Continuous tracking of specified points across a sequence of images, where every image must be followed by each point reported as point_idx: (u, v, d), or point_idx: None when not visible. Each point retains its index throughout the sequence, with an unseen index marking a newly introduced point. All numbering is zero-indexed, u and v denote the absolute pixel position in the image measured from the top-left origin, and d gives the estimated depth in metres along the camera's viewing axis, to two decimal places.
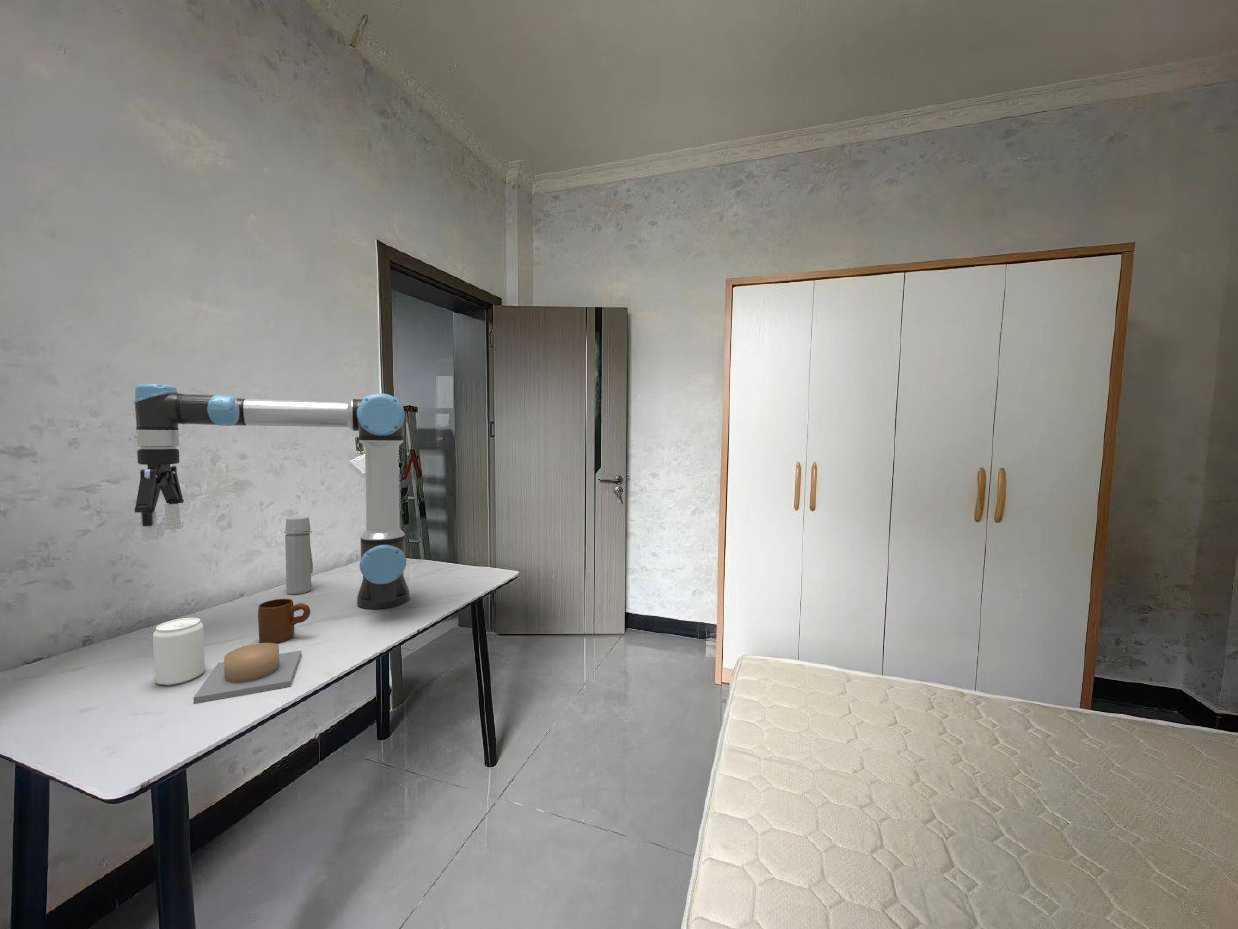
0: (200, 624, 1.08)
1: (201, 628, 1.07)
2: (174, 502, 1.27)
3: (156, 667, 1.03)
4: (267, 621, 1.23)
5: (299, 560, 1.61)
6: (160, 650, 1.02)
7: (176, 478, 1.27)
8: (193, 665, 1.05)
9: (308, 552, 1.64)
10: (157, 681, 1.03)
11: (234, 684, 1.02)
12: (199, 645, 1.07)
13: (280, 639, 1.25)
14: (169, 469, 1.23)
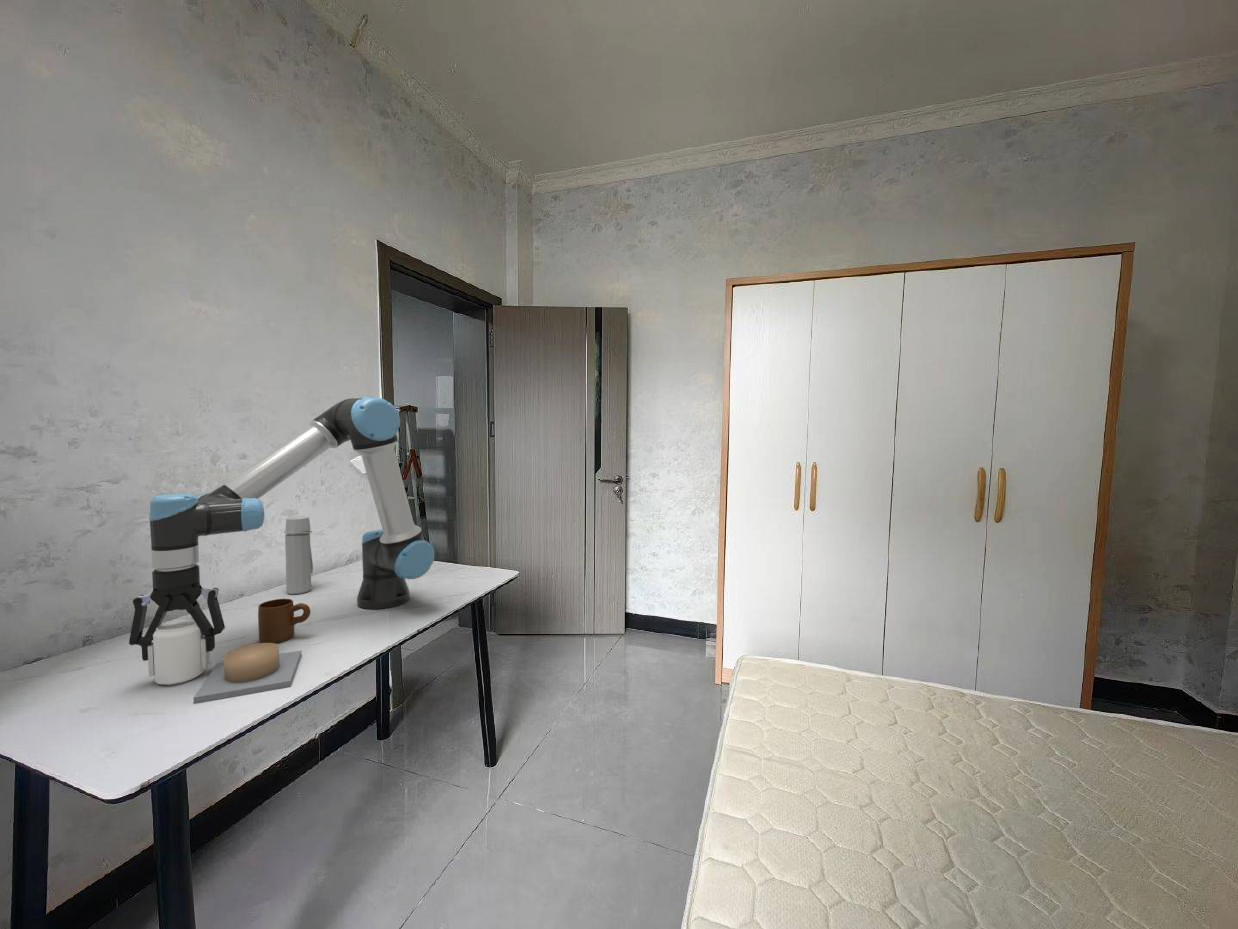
0: None
1: None
2: None
3: (156, 667, 1.03)
4: (267, 621, 1.23)
5: (299, 560, 1.61)
6: (160, 650, 1.02)
7: (210, 605, 1.07)
8: (193, 665, 1.05)
9: (308, 552, 1.64)
10: (157, 681, 1.03)
11: (234, 684, 1.02)
12: (199, 645, 1.07)
13: (280, 639, 1.25)
14: (191, 591, 1.06)
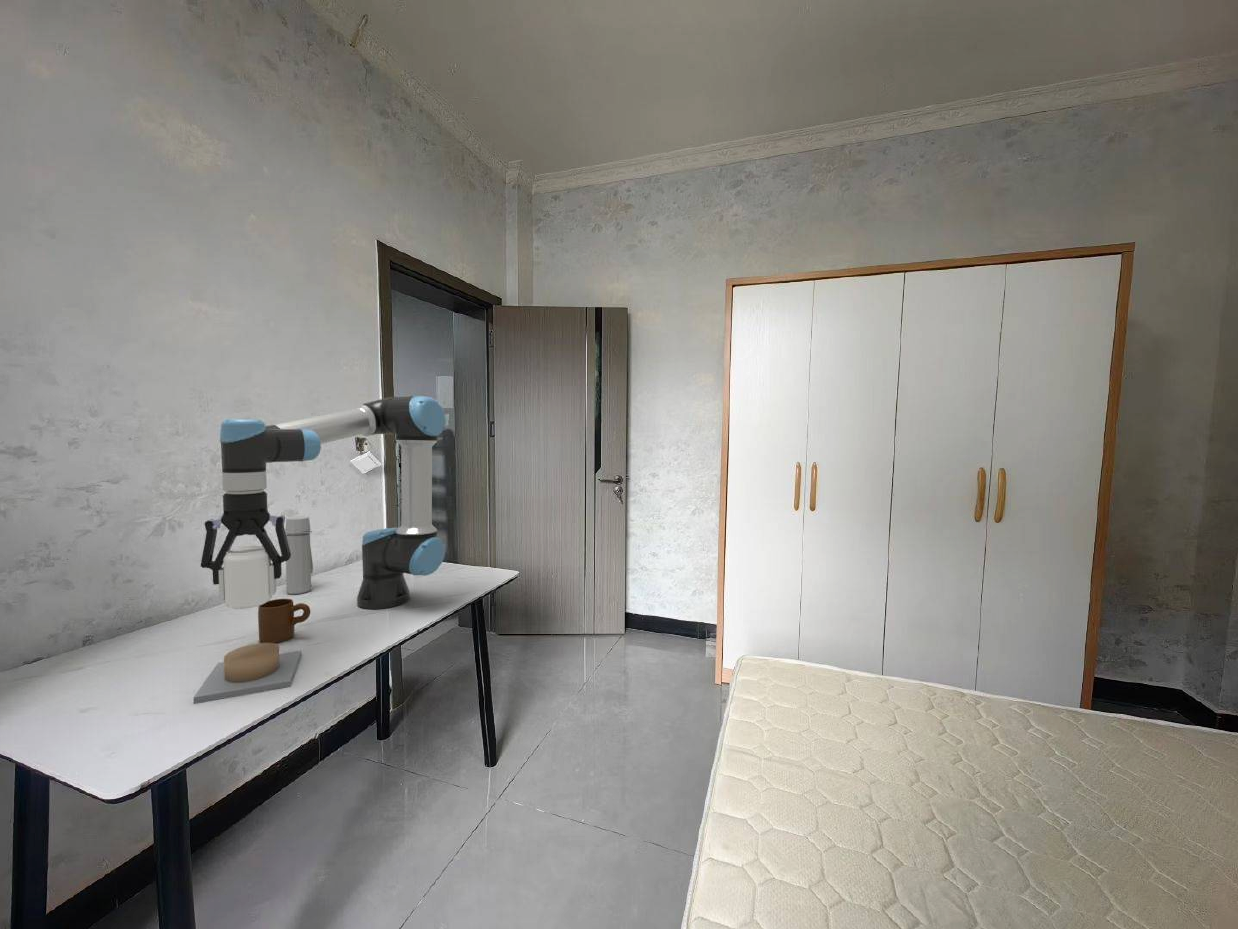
0: None
1: None
2: None
3: (227, 590, 1.02)
4: (267, 621, 1.23)
5: (299, 560, 1.61)
6: (231, 573, 1.02)
7: (278, 532, 1.07)
8: (263, 591, 1.05)
9: (308, 552, 1.64)
10: (228, 605, 1.03)
11: (234, 684, 1.02)
12: (267, 571, 1.06)
13: (280, 639, 1.25)
14: (260, 516, 1.05)
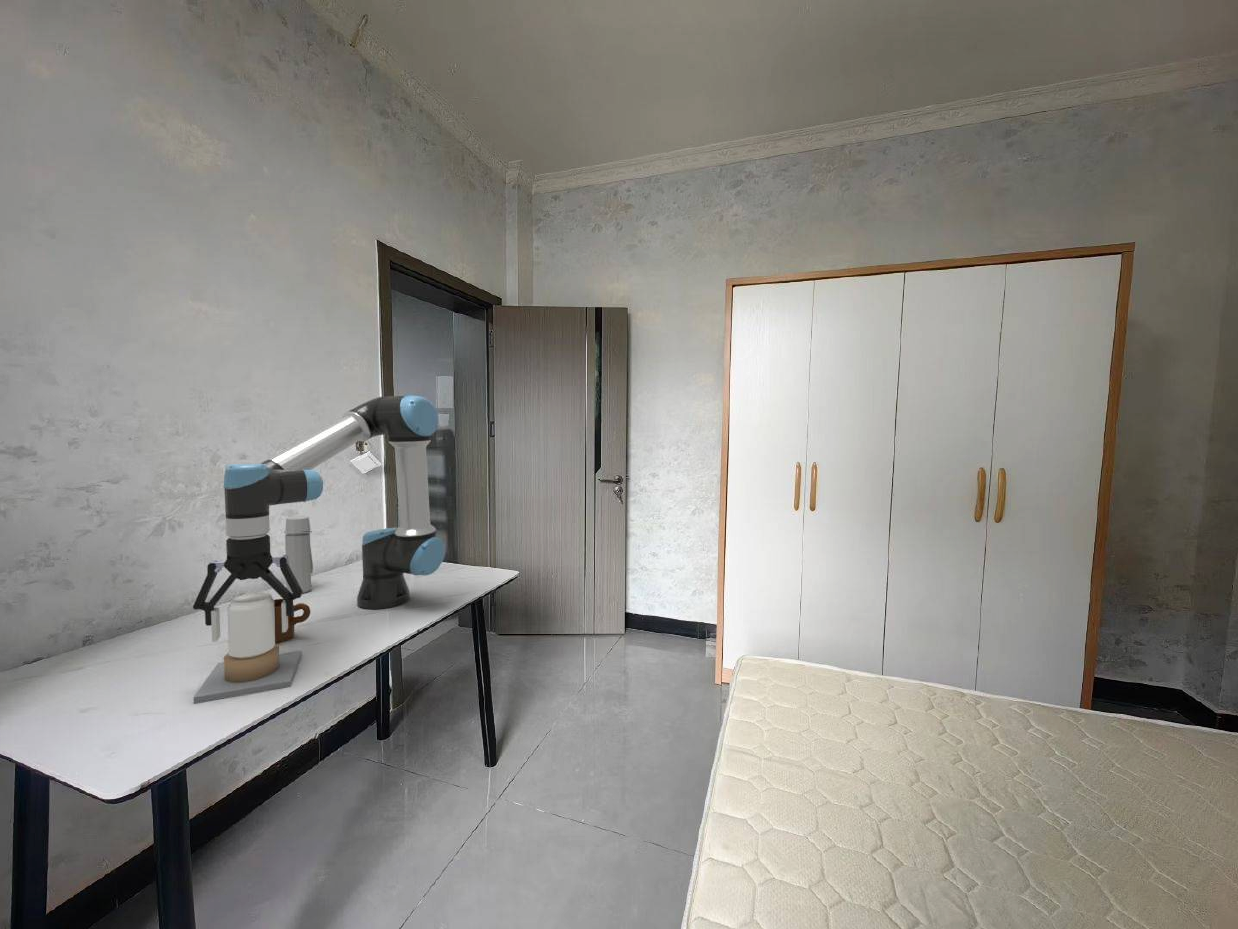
0: (272, 599, 1.08)
1: (273, 603, 1.08)
2: None
3: (231, 640, 1.03)
4: None
5: (299, 560, 1.61)
6: (235, 623, 1.03)
7: (284, 572, 1.08)
8: (266, 639, 1.06)
9: (308, 552, 1.64)
10: (232, 654, 1.03)
11: (234, 684, 1.02)
12: (271, 619, 1.07)
13: (280, 639, 1.25)
14: (263, 560, 1.06)
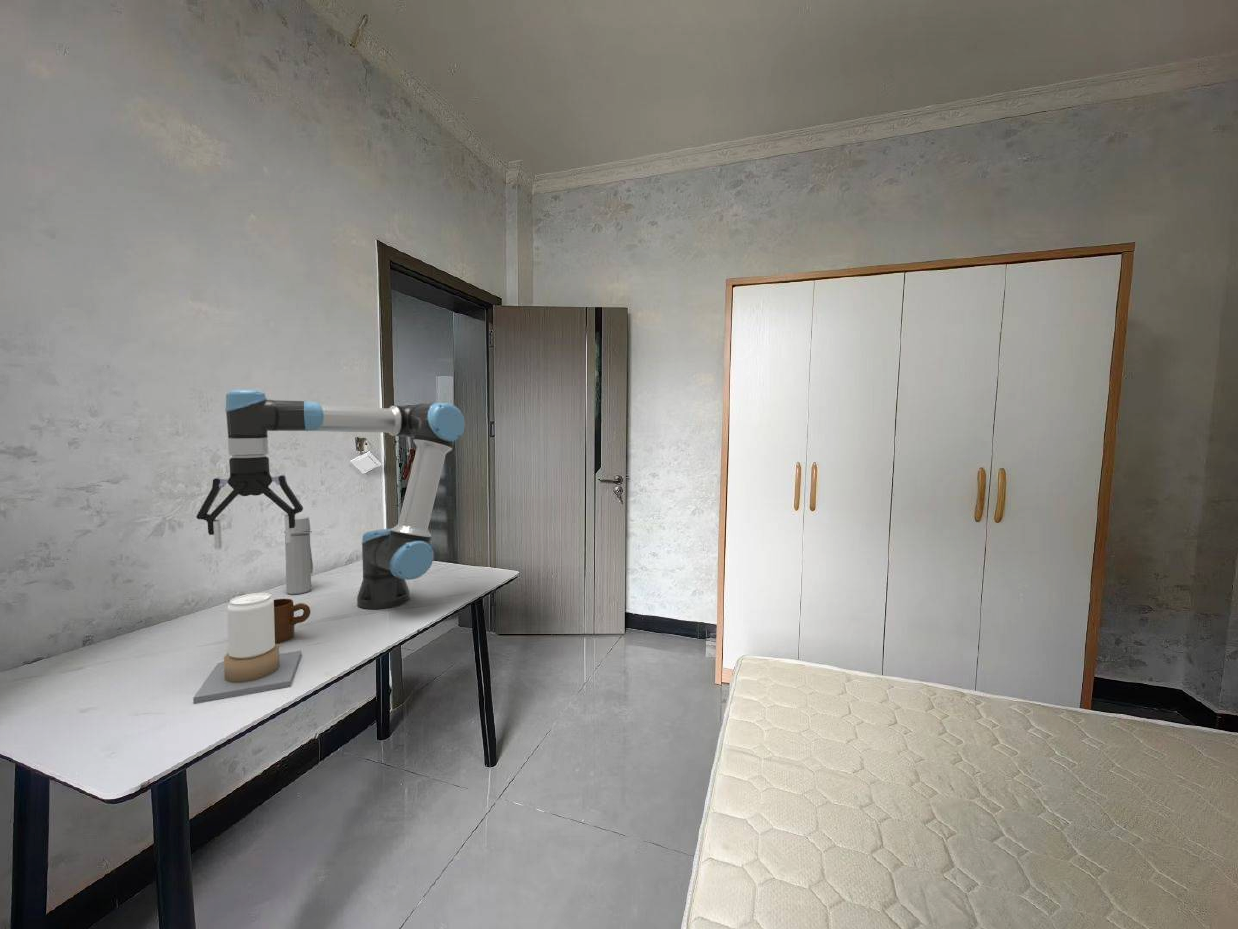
0: (271, 599, 1.08)
1: (272, 603, 1.08)
2: None
3: (231, 640, 1.03)
4: None
5: (299, 560, 1.61)
6: (235, 623, 1.02)
7: (284, 489, 1.19)
8: (266, 640, 1.06)
9: (308, 552, 1.64)
10: (232, 654, 1.03)
11: (234, 684, 1.02)
12: (270, 619, 1.07)
13: (280, 639, 1.25)
14: (263, 479, 1.17)
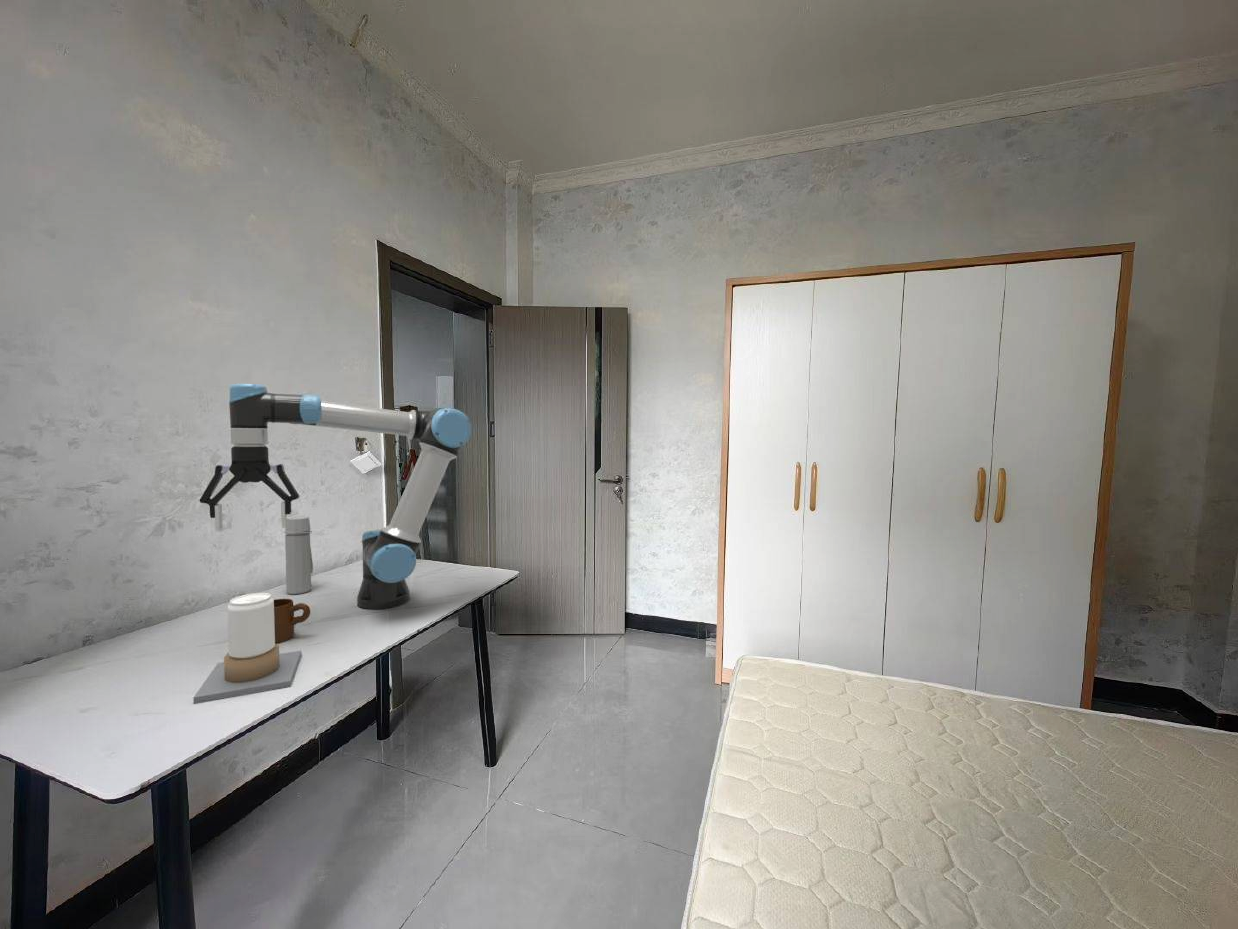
0: (271, 599, 1.08)
1: (272, 603, 1.08)
2: None
3: (231, 640, 1.03)
4: None
5: (299, 560, 1.61)
6: (235, 623, 1.02)
7: (281, 477, 1.26)
8: (266, 640, 1.06)
9: (308, 552, 1.64)
10: (232, 654, 1.03)
11: (234, 684, 1.02)
12: (270, 619, 1.07)
13: (280, 639, 1.25)
14: (262, 467, 1.25)
